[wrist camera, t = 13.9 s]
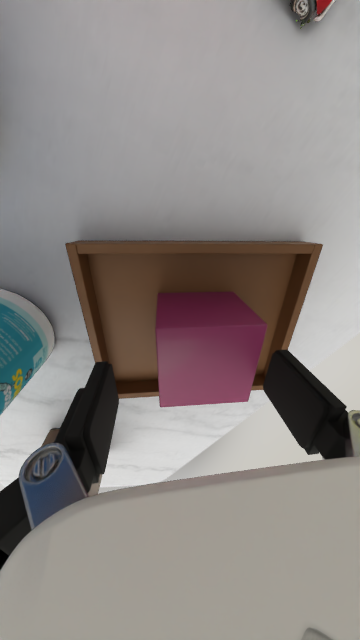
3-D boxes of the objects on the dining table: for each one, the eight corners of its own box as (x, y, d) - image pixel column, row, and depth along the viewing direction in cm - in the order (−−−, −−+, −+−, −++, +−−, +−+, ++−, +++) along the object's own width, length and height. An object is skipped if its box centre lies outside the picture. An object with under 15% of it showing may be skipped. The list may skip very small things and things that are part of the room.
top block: (160, 355, 17) (159, 408, 12) (157, 292, 14) (155, 328, 10) (224, 352, 18) (248, 402, 13) (233, 291, 15) (268, 324, 10)
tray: (109, 382, 19) (104, 399, 17) (78, 240, 13) (64, 243, 11) (264, 373, 20) (274, 389, 18) (302, 241, 14) (323, 244, 12)
